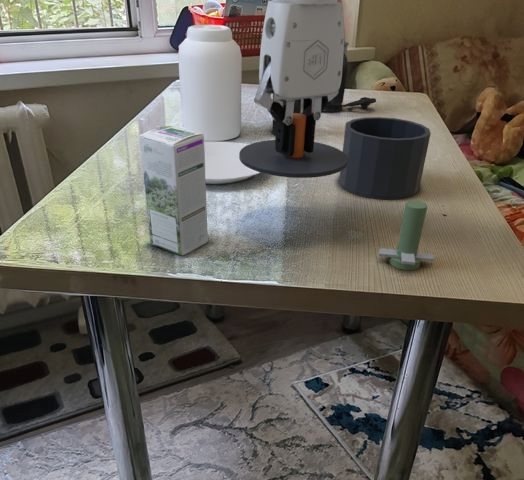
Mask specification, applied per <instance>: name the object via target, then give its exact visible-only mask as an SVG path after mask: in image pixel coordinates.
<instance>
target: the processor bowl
mask: <svg viewBox="0 0 524 480" xmlns="http://www.w3.org/2000/svg"><path fill="white" fill-rule="evenodd" d="M344 129H345V130H344V138H343V145H342V152H344V153H345V154H346V155H347V157H348V164H347V166H346V168H345V169H343V170H342V171H340V172H339V180H338V183H339V186H340V187H341V188H342V189H343V190H345V191H346V192H349V193H351V194H353V195H356V196H359V197H364V198H368V199H376V200H400V199H401V200H403V199H406V198H410V197H412V196H414V195H416V194H417V193H418V192H419V189H420V187H421V183H422V177H423V172H424V167H425V162H426V157H427V152H428V148H429V143H430V139H431V133H432V132H431V130H430V128H429V127H427V126H425V125H423V124H422V123H419V122H415V121H411V120H407V119H401V118H396V117H385V116H384V117H382V116H372V117H371V116H369V117H368V116H367V117H359V118H353V119H350V120H349V121H346V122H345V128H344Z"/></svg>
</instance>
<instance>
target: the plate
mask: <svg viewBox="0 0 524 480" xmlns="http://www.w3.org/2000/svg"><path fill="white" fill-rule="evenodd" d="M247 145H248V144H244V143H239V142H231V141H204V150H205V181H206V184H207V185H208V184H209V185H221V184H222V185H223V184H224V185H225V184H231V183H232V184H233V183H237V182H241V181H244V180H247V179H250V178H251V177H253V176H256V175H259V174H262V173H261V172H258V171H255V170H252V169H250V168H248V167H246V166H245V165H244V164H242V163H241V161H240V159H239V153H240V150H241V149H242V148H244V147H245V146H247Z"/></svg>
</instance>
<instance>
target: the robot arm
mask: <svg viewBox="0 0 524 480" xmlns="http://www.w3.org/2000/svg"><path fill="white" fill-rule="evenodd" d="M344 20H345V19H344V9H343V2H341V1H338V0H268V1H267V5H266V10H265V16H264V21H263V26H262V34H261V40H260V41H261V42H260V50H259V51H260V54H259V65H258V66H259V69H258V71H259V72H258V79H259V80H258V84H259V85H258V88H257V90H256V93H255V95H254V98H253V102H254V103H255V104H256V105H258V106H259V107H262V108H263V109H266V110H267V112H268V113H269V114H270V116H271V118H272V121H273V120H275V121H276V135H274V136H275V138H274V140H275V149H276V151H277V152H279V153H281V154H283V155H285V156H288V157H290V156H293V154H294V143H295V129H296V127H295V125H294V124H292V120H293V111H294V102H295V100H298V99H301V114H304V115H306V127H305V140H304V151H305V152H308V153H311V152H313V148H314V142H315V135H316V126H317V122H318V121H319V120H320V119H321V117H322V112H323V111H322V110H323V109H324V107H325V106H326V105H327V103H328V102H329V101H330V100H332V99H333V98H334V97H336V96H337V95H338V92H339V88H340V85H341V79H342V68H343V52H344V42H345V21H344ZM273 94H274V100H273V98H272V95H273ZM310 99H312V100H311V101H310ZM283 102H284V108H283Z"/></svg>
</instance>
